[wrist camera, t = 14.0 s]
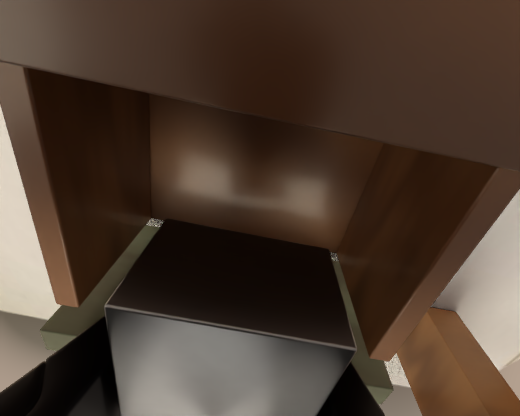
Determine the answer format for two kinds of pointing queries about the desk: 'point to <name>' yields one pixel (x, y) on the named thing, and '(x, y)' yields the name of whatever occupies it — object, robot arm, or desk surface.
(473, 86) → the cabinet
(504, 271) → the desk surface
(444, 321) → the stand
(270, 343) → the brushed metal block
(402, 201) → the drawer
